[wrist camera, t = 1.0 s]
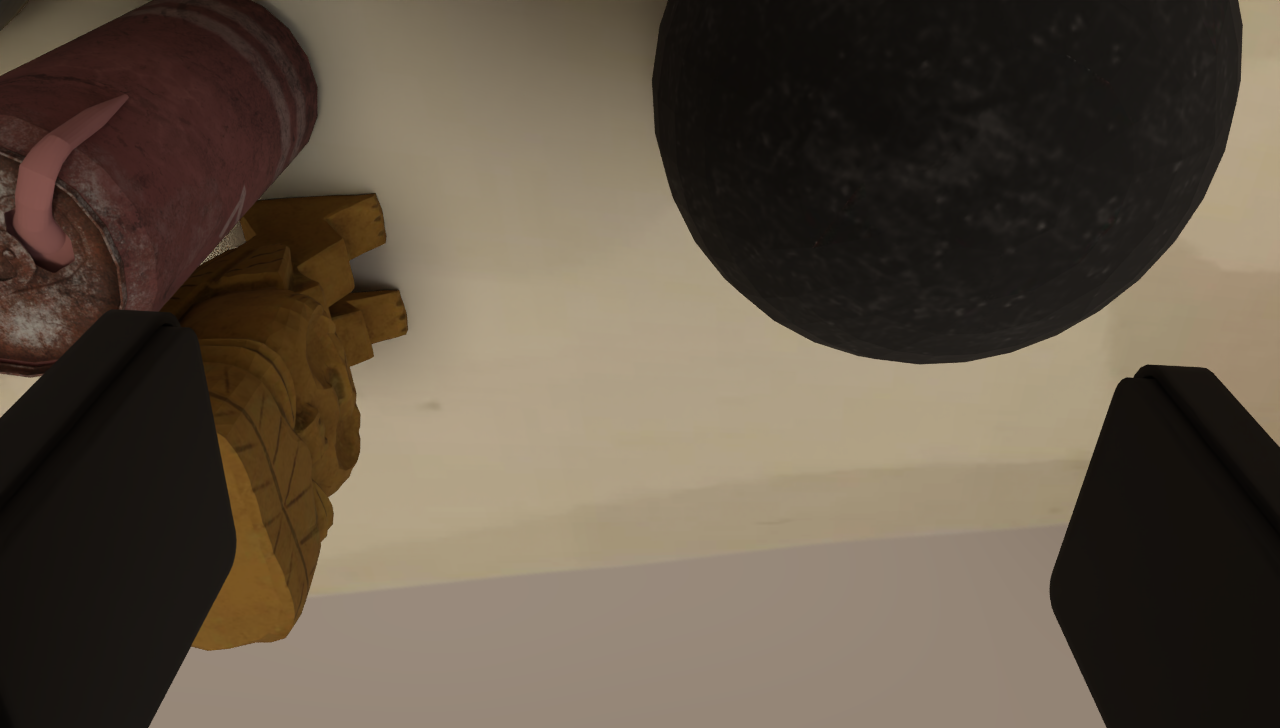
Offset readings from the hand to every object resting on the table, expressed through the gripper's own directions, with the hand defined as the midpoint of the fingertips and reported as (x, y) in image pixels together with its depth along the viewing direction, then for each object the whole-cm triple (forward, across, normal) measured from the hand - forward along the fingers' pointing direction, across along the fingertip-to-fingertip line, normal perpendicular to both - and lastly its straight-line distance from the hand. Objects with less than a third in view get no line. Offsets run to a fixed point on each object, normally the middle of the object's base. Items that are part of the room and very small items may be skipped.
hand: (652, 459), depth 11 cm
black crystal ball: (+25, -6, 0) cm, 25 cm away
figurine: (+25, +12, +10) cm, 29 cm away
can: (+25, +14, +4) cm, 28 cm away
